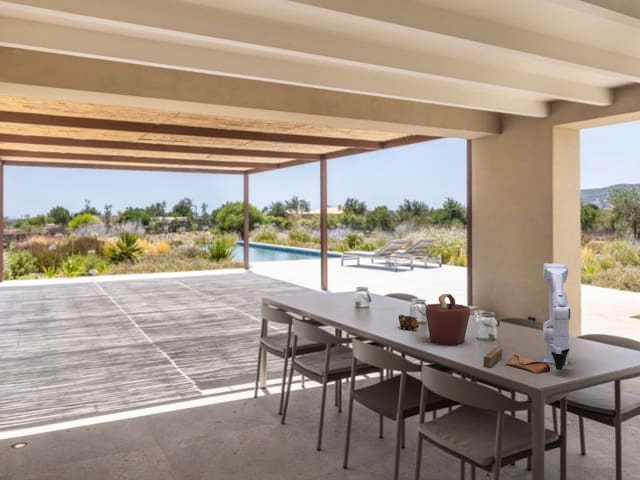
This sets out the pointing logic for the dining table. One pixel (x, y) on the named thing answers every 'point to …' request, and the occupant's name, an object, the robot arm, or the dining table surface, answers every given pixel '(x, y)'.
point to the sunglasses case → (528, 365)
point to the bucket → (447, 321)
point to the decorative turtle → (407, 322)
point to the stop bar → (492, 357)
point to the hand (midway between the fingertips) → (560, 367)
